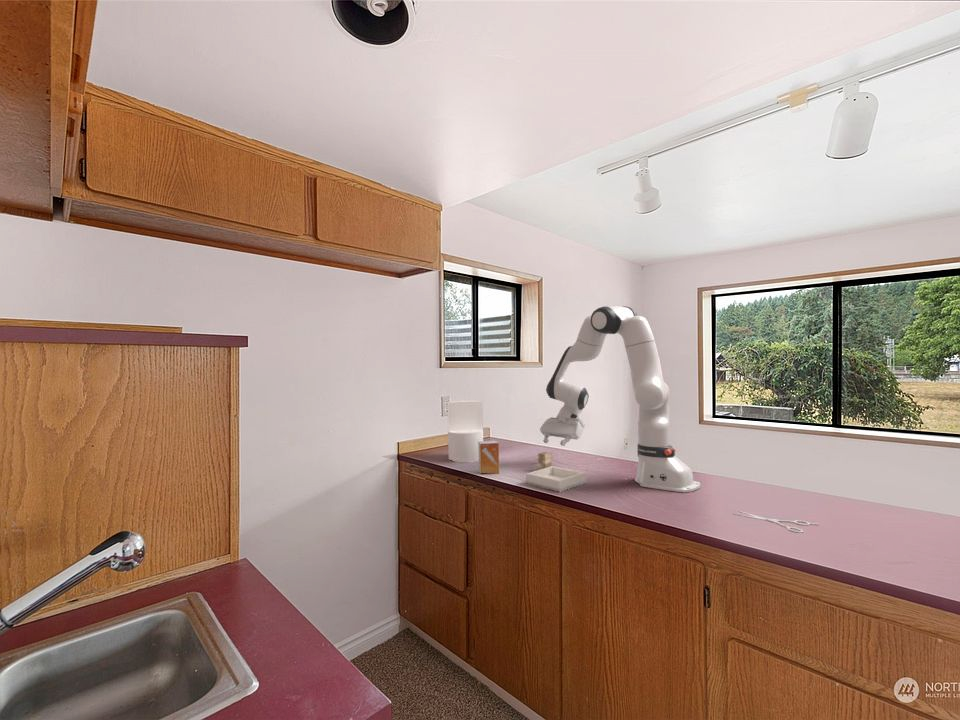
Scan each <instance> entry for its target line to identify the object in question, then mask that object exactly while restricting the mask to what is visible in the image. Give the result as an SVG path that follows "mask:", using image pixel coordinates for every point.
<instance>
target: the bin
mask: <svg viewBox="0 0 960 720" xmlns="http://www.w3.org/2000/svg"><path fill="white" fill-rule="evenodd" d="M586 476H587V475H586V472H583V471H577V470H572V469H568V468H564V467H558V466H554V465H552V466H551V467H548V468H544V469H541V470H538V469H537V470H533V471H531V472H526V473H525V484H526V485H529V486H532V485H533V487H536V486H537V487H536V488H541V489H544V488H545V490H548V489H551V490H550V491H552V490H555V491H554V492H556V491H559V492H558V493H561V492H560V491H562V492H564V491H563V490H565V491H568V490H570V488H571V489H574V488H576V486H577V487H579V485H580V486H582V485H585V484H587V483H586V481H587V477H586ZM573 487H574V488H573ZM567 489H568V490H567Z"/></svg>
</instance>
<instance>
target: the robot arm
mask: <svg viewBox="0 0 960 720" xmlns="http://www.w3.org/2000/svg"><path fill="white" fill-rule="evenodd" d="M615 334H618V335H620V336H621V337H622V340H623V343H624V347H625V348H624V349H625V352H626V356H627V359H628V365H629V368H630V375H631V382H632V388H633V394H634V398H635V401H636V403H637V404H638V407H639V409H638V421H637V429H638V430H637V431H638V432H637V434H638V443H637V458H638V463H637V469H636V470H637V471H636V475H635V478H634V481H635V482H636V483H637V484H639V486H640V487H643V488H650V489H656V490H662V491H669V492H670V491H671V492H677V493H691V492H694V491H697V490H699V489H700V488H701V483H700V482H699V481H696V480H694V475H693V474H694V473H693V471H692V469H691V467H690V466H688V465H687V464H686V463H684V462H683V461H682V460H681V459H679V458H678V457H677V456H676V452H677V451H678V450H677V447H673V446H672V445H671V443H670V441H671V440H670V439H671V438H670V408H671V407H670V400H671V399H670V392H671V391H670V387H669V386H668V384H667V383H666V382H665V381H664V376H663V371H662V364H661V360H660V356H659V352H658V351H659V350H658V348H657V343H656V340H655V337H654V334H653V331H652V329H651V326H650V324H649V322H648V320H647V319H646V318H645V316H643V315H638V314H637V312H636V311H635V309H633V308H632V307H630V306H625V305H622V306H621V305H619V306H618V305H607V306H601V307H598V308H596V309H595V310H594V311H593V312H592V313H591V315H589V316H587V317H586V318H585V319H584V320H583V322H582V324H581V327H580V329H579V331H578V334H577V337H576V340H575V342H574V344H572V345H570V346H568V347H567V348H566V349H565V350H564V352H563V354H562V356H561V357H560V360H559V362H558V363H557V366H556V367H555V371H554V372H553V374H552V376H551V378H550V380H549V381H548V383H547V385H546V388H545V389H546V390H545V392H546V394H547V396H548V398H550V399H553V400H556V401H560V402H561V403H564V404H563V406H562V407H560V409H559V412H558V413H557V415H556V417H549V418H546V420H545V421H544V423H543V424H542V425H541V427H540V428H539V430H540V433H541V434H542V435H543V440H542V442H543V443H544V444H548V443H549V439H548V438H550V437H555V438H562V440H561V441H560V443H559V444H560V446H562V447H565V446H566V444H567V443H569V442H570V441H571V440H579V439H580V437H581V436H582V434H583V430H584V428H585V425H586V423H585V422H584V420H583V419H582V418H581V416H580V415H581V413H582V411H583V410H584V409H585V407H586V406H587V404H588V401H589V397H590V396H589V393H588V390H587V389H586V387H584V386H582V385H580V384H577V383H574V382H571V381H568V380H566V379H564V375H565V373H566V371H567V369H568V367H569V365H570V363H574V362H588V361H592V360H595V359H597V358H598V357H599V355H600V353H602V349H603V346H604V343H605V339H606V338H607V335H615Z"/></svg>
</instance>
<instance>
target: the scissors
mask: <svg viewBox="0 0 960 720" xmlns="http://www.w3.org/2000/svg"><path fill="white" fill-rule="evenodd" d="M736 511H737V512H739V513H742V514H740V516H741V517H745V518H751V519H756V520H762V521H767V522H771V523H774V524H776V525H779V526H781V527H785V528H786V529H787V530H788V531H790V532H792V533H793V532H794V533H797V534H803V533H804V530H803V529H800V528H798V527H793V526H788V525H785V524H783V523H792V524H796V525H798V526H806V527H807V526H811V525H813V526H819V523H815V522H814V523H813V522H808V521H806V520H797V519H796V520H782V519H775V518H768V517H767V518H765V517H763V516H758V515H755V514H751V513H750V512H749V513H748V512H744V511H741V510H737V509H736ZM744 514H745V515H744ZM735 515H736V516H739V514H738V513H735ZM810 524H811V525H810Z"/></svg>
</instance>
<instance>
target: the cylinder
mask: <svg viewBox="0 0 960 720" xmlns="http://www.w3.org/2000/svg"><path fill="white" fill-rule="evenodd" d="M446 404H447V437H448V439H447V442H448V443H447V444H448V445H447V446H448V447H447V448H448V460H449V459H450V460H453V461H461V462H468V463H471V462H470V461H477V462H479V461H478V460H479V451H478V441H484V419H483V418H484V417H483V416H484V414H483V413H484V411H483V410H484V409H483V401H482V400H476V399H475V400H470V399H468V400H466V399H465V400H451V401H450V400H449V401H448V402H447V403H446ZM450 460H449V461H450Z"/></svg>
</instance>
